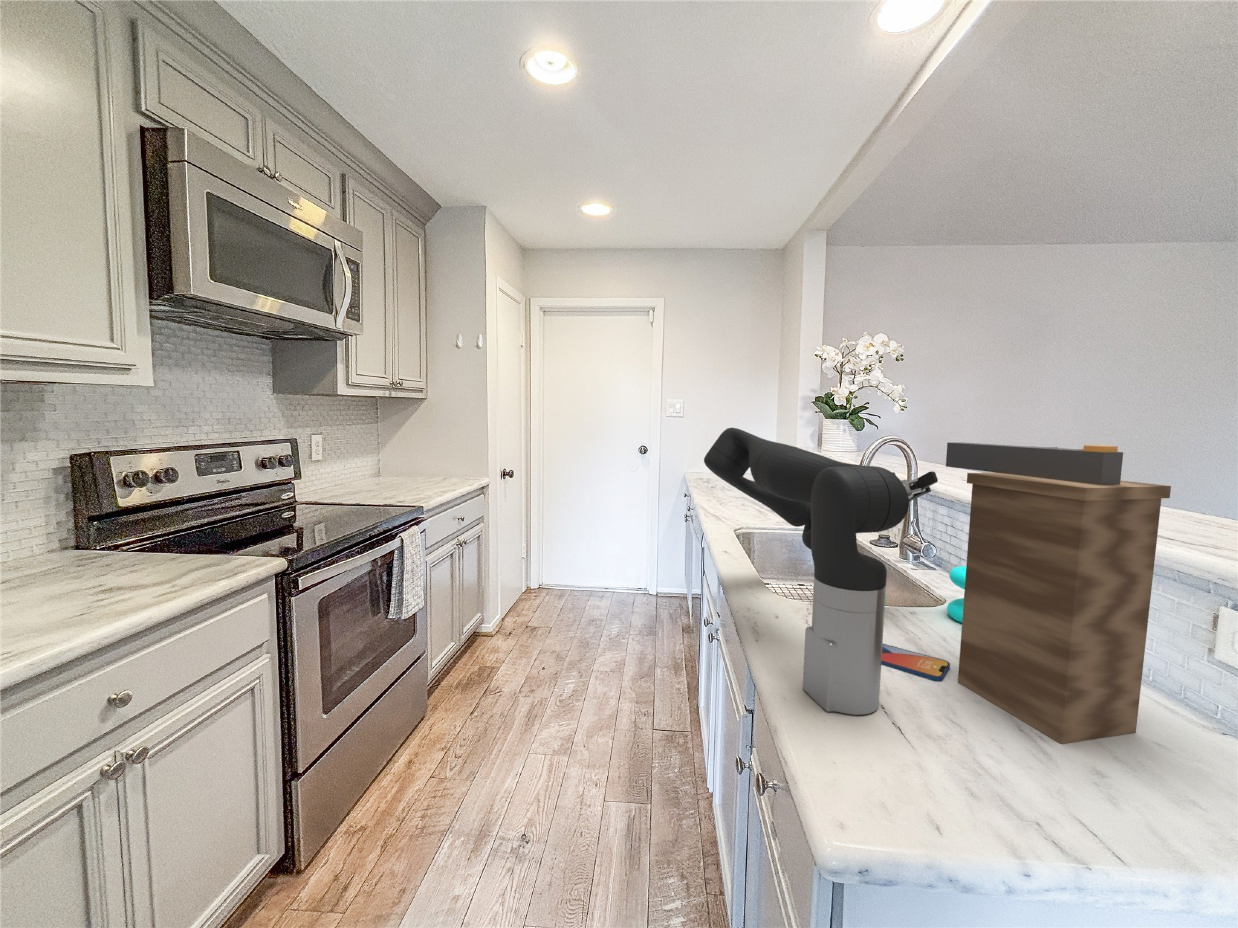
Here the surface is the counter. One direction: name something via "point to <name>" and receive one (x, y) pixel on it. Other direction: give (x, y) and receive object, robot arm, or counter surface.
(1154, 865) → the counter surface
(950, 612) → the turquoise spool
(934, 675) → the smartphone
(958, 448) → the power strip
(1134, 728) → the wooden lidded box
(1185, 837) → the counter surface
